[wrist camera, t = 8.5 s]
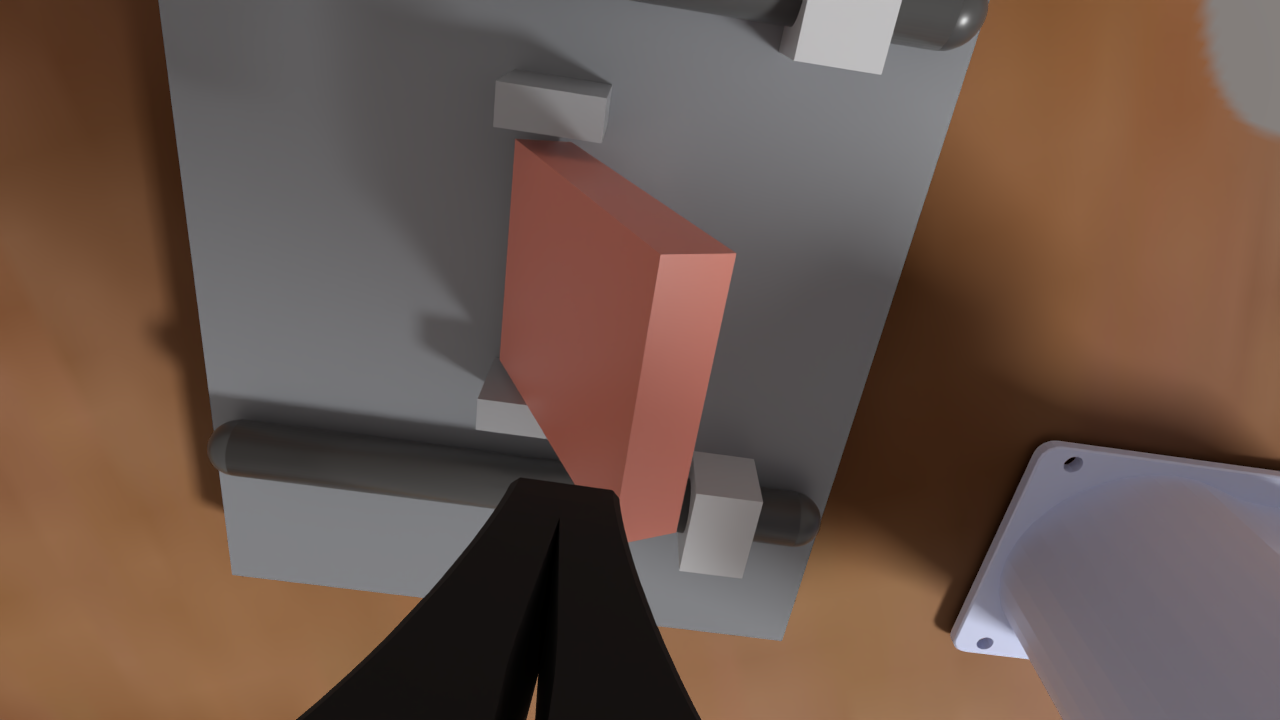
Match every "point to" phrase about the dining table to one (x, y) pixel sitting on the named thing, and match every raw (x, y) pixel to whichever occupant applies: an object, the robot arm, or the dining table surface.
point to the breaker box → (477, 254)
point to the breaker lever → (610, 327)
